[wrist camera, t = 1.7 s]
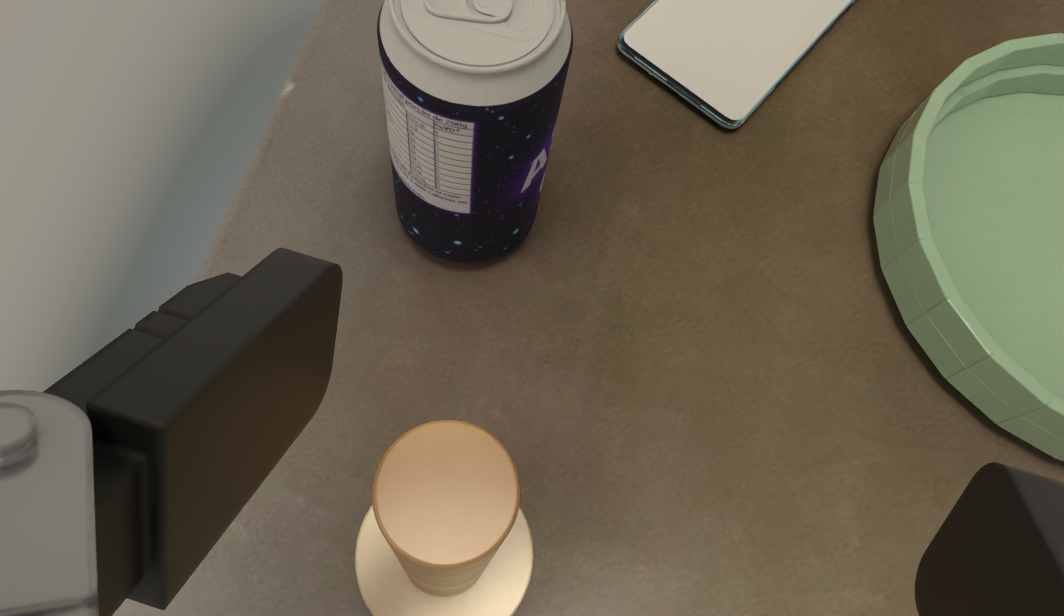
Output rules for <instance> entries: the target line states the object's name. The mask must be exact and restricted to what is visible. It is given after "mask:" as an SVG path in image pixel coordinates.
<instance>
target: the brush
mask: <svg viewBox="0 0 1064 616" xmlns="http://www.w3.org/2000/svg"><path fill="white" fill-rule="evenodd" d="M520 496H521V491H520V480H519V475H518V472H517V468H516V465H515V463H514V461H513V459H512V457H511V455H510V454H509V452H508V450H507V449H506V448H505V447H504V445H503V444H502V443H501V442H500V441H499V440H498V439H497V438H496V437H495V436H494V435H492V434H491V433H489V432H488V431H487V430H485V429H483V428H481V427H479V426H477V425H474V424H472V423H469V422H465V421H461V420H436V421H431V422H427V423H424V424H421V425H419V426H417V427H414V428H413V429H411V430H409V431H407V432H406V433H405V434H403V435H402V436H401V437H399V438H398V439H397V440H396V441H395V442H394V443H393V444H392V445H391V446H390V448H389V449H388V450H387V451H386V453H385V454H384V456H383V458H382V459H381V461H380V463H379V466H378V468H377V470H376V474H375V477H374V482H373V488H372V503H373V504H372V506H371V507H370V509H369V511H368V512H367V514H366V516H365V518H364V520H363V522H362V525H361V527H360V530H359V534H358V537H357V542H356V548H355V573H356V579H357V583H358V588H359V590H360V593H361V596H362V598H363V600H364V602H365V604H366V606H367V608H368V610H369V611H370V613H371V614H372V615H373V616H512V615H513V614H514V613H515V611H516V610H517V608H518V607H519V605H520V604H521V602H522V600H523V598H524V596H525V594H526V592H527V589H528V586H529V583H530V580H531V575H532V570H533V561H534V547H533V539H532V533H531V530H530V526H529V523H528V520H527V518H526V516H525V514H524V511H523V510H522V508H521V506H520Z"/></svg>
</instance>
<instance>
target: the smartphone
mask: <svg viewBox="0 0 1064 616" xmlns="http://www.w3.org/2000/svg"><path fill="white" fill-rule="evenodd" d="M854 2H855V0H655V1H654V2H653V3H652V4H651V5H650V6H649V7H648V8H647V9H646V10H645V11H644V12H643V13H642V14H640V15H639V16H638V17H637V18H636V19H635V20H634V21H633V22H632V23H631V24H630V25H629V26H628V27H627V28H626V29H624V30H623V31H622V32H621V33H620V35H619V38H618V42H617V46H618V48H619V50H620V51H621V52H622V53H623V54H624V55H625V56H627V57H628V58H629V59H631V60H632V61H633V62H635V63H636V64H637V65H639V66H640V67H642V68H643V69H644V70H646V71H647V72H648V73H649V74H650V75H652V76H654V77H655V78H657V79H658V80H659V81H661V82H662V83H663V84H665V85H667V86H668V87H670V88H671V89H672V90H674V91H675V92H676V93H678V94H679V95H680V96H681V97H682V98H684V99H685V100H687V101H688V102H689V103H691V104H692V105H693V106H695V107H696V108H697V109H699V110H700V111H702V112H703V113H704V114H706V115H707V116H708V117H710V118H711V119H713V120H714V121H715V122H717V123H718V124H719V125H721V126H723V127H725V128H728V129H734V128H737V127H739V126H741V125H742V124H743V123H744V122H745V120H746V119H747V118H748V117H749V116H750V115H751V114H752V113H753V112H754V111H755V109H756V108H757V107H758V106H759V105H760V104H761V103H762V102H763V101H764V100H765V98H766V97H767V96H768V95H769V94H770V93H771V92H772V91H773V90H774V89H775V87H776V86H777V85H778V84H779V83H780V82H781V81H782V80H783V79H784V78H785V76H786V75H787V74H788V73H789V72H790V71H791V70H792V69H793V68H794V67H795V65H796V64H797V63H798V62H799V61H800V60H801V59H802V58H803V57H804V56H805V54H806V53H807V52H808V51H809V50H810V49H811V48H812V47H813V46H814V45H815V43H816V42H817V41H818V40H819V39H820V38H821V37H822V36H823V35H824V34H825V32H826V31H827V30H828V29H829V28H830V27H831V26H832V25H833V24H834V23H835V21H836V20H837V19H838V18H839V17H840V16H841V15H842V14H843V13H844V12H845V10H846V9H847V8H848V7H849V6H850V5H851V4H853V3H854Z"/></svg>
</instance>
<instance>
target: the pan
mask: <svg viewBox="0 0 1064 616" xmlns="http://www.w3.org/2000/svg"><path fill="white" fill-rule="evenodd" d="M873 215H874V216H873V221H874V228H875V234H876V240H877V246H878V252H879V259H880V265H881V270H882V272H883V275H884V277H885V279H886V281H887V284H888V286H889V288H890V291H891V293H892V295H893V297H894V300H895V302H896V304H897V307H898V309H899V311H900V313H901V316H902V318H903V320H904V323H905V324H906V325H907V326H906V327H907V328H908V330H909V331H910V332H911V334H912V335H913V336H914V338H915V339H916V340H917V342H918V343H919V345H920V346H921V347H922V349H923V350H924V351H925V353H926V354H927V355H928V357H929V358H930V360H931V361H932V362H933V364H934V365H935V366H936V368H937V369H938V370H939V372H940V373H941V374H942V376H943V377H944V378H946V380H947V381H948V382H949V383H950V384H951V385H952V386H954V387H955V388H956V389H957V390H958V391H959V392H960V393H961V394H963V395H964V396H965V397H966V398H967V399H968V400H969V401H970V402H971V403H973V404H974V405H975V406H976V407H977V408H978V409H979V410H980V411H982V412H983V413H984V414H985V415H986V416H987V417H988V418H989V419H990V420H992V421H993V422H994V423H995V424H997V425H998V426H999V427H1001V428H1003V429H1004V430H1006V431H1008V432H1010V433H1011V434H1013V435H1015V436H1017V437H1018V438H1020V439H1022V440H1024V441H1025V442H1027V443H1029V444H1031V445H1032V446H1034V447H1036V448H1038V449H1039V450H1041V451H1043V452H1044V453H1046V454H1048V455H1050V456H1051V457H1053V458H1056V459H1058V460H1061V461H1064V33H1053V34H1046V35H1039V36H1033V37H1026V38H1019V39H1012V40H1009V41H1008V40H1007V41H1005V42H1003V43H1001V44H999V45H996V46H994V47H992V48H990V49H988V50H986V51H983V52H981V53H979V54H977V55H975V56H972V57H970V58H968V59H966V60H965V61H964V62H963V63H962V64H961V65H960V66H958V67H957V68H956V69H955V70H954V71H953V72H952V73H951V74H950V75H949V76H948V77H947V78H946V79H945V80H944V81H943V82H942V83H941V84H940V85H939V86H938V87H936V88H935V89H934V90H933V92H932V93H931V94H930V95H929V96H928V97H927V98H926V99H925V100H924V102H923V103H922V104H921V105H920V106H919V107H918V108H917V109H916V110H915V111H914V113H913V114H912V115H911V116H910V117H909V118H908V119H907V120H906V121H905V123H904V124H903V125H902V126H901V127H900V129H899V130H898V132H897V134H896V136H895V138H894V140H893V142H892V144H891V146H890V148H889V150H888V152H887V154H886V156H885V158H884V160H883V162H882V164H881V166H880V170H879V176H878V184H877V192H876V199H875V207H874V214H873Z"/></svg>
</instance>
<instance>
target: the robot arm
mask: <svg viewBox="0 0 1064 616" xmlns="http://www.w3.org/2000/svg"><path fill="white" fill-rule="evenodd" d="M341 290H342V270H341V267H340V266H339V265H338V264H335V263H332V262H329V261H325V260H322V259H319V258H315V257H312V256H308V255H305V254H302V253H298V252H295V251H292V250H288V249H285V248H279V249H276V250H275V251H274V252H272V253H271V254H270V255H269V256H267V257H266V258H265V259H264V260H262V261H261V262H260V263H259V264H257V265H256V266H255V267H254V268H252V269H251V270H250V271H249V272H247V273H246V274H245V275H244V276H242V277H241V276H238V275H234V274H231V273H225V274H222V275H219V276H216V277H213V278H210V279H207V280H203V281H200V282H197V283H194V284H191V285H188V286H187V287H185V288H184V289H183V290H181V291H180V292H178V293H177V294H176V295H175V296H173V297H172V298H171V299H169V300H168V301H166V302H165V303H164V304H162V305H161V306H160V307H159V310H158V312H156V311H153V312H151V313H150V314H149V315H147V316H146V317H145V318H143V319H142V320H140V321H139V322H138V323H136V325H135V328H134V330H132V329H128V330H127V331H125V333H123V334H121V335H120V336H119V337H117V338H116V339H115V340H113V341H112V342H110V343H109V344H108V345H106V346H105V347H104V348H102V349H101V350H100V351H98V352H97V353H96V354H94V355H93V356H92V357H90V358H89V359H87V360H86V361H85V362H83V363H82V364H81V365H79V366H78V367H77V368H75V369H74V370H72V371H71V372H70V373H68V374H67V375H66V376H64V377H63V378H62V379H60V380H59V381H57V382H56V383H55V384H53V385H52V386H51V387H49V388H48V389H47V390H45V391H44V392H36V391H24V390H7V391H0V616H112V615H113V613H114V612H115V611H116V610H117V609H118V607H119V606H120V605H121V604H122V603H123V602H124V600H125V599H126V598H128V599H131V600H134V601H137V602H140V603H143V604H146V605H149V606H152V607H155V608H158V609H161V610H165V609H166V607H167V606H168V605H169V603H170V602H171V601H172V599H173V598H174V597H175V596H176V594H177V593H178V592H179V590H180V589H181V588H182V586H183V585H184V584H185V583H186V581H187V580H188V579H189V577H190V576H191V575H192V573H193V572H194V571H195V570H196V568H197V567H198V566H199V564H200V563H201V562H202V560H203V559H204V558H205V556H206V555H207V554H208V553H209V551H210V550H211V549H212V547H213V546H214V545H215V543H216V542H217V541H218V540H219V538H220V537H221V536H222V534H223V533H224V532H225V530H226V529H227V528H228V527H229V525H230V524H231V523H232V521H233V520H234V519H235V517H236V516H237V515H238V514H239V512H240V511H241V510H242V508H243V507H244V506H245V504H246V503H247V502H248V501H249V499H250V498H251V497H252V495H253V494H254V493H255V491H256V490H257V489H258V488H259V486H260V485H261V484H262V482H263V481H264V480H265V478H266V477H267V476H268V474H269V473H270V472H271V471H272V469H273V468H274V467H275V465H276V464H277V463H278V461H279V460H280V459H281V458H282V456H283V455H284V454H285V452H286V451H287V450H288V448H289V447H290V446H291V445H292V443H293V442H294V441H295V439H296V438H297V437H298V435H299V434H300V433H301V432H302V430H303V429H304V428H305V426H306V425H307V424H308V422H309V421H310V420H311V419H312V417H313V416H314V414H315V413H316V411H317V409H318V408H319V406H320V404H321V402H322V399H323V397H324V395H325V392H326V389H327V386H328V383H329V379H330V375H331V370H332V364H333V355H334V347H335V339H336V331H337V323H338V315H339V307H340V299H341ZM915 601H916V606H917V610H918V613H919V616H1064V483H1062V482H1060V481H1057V480H1054V479H1050V478H1047V477H1044V476H1040V475H1037V474H1034V473H1030V472H1027V471H1024V470H1020V469H1017V468H1014V467H1010V466H1007V465H1004V464H1000V463H995V462H993V463H989V464H986V465H984V466H983V467H982V468H980V470H979V471H978V472H977V473H976V474H975V475H974V477H973V478H972V480H971V481H970V483H969V484H968V486H967V487H966V489H965V490H964V492H963V494H962V495H961V497H960V498H959V500H958V501H957V503H956V504H955V506H954V508H953V509H952V511H951V512H950V514H949V515H948V517H947V518H946V520H945V521H944V523H943V525H942V526H941V528H940V529H939V531H938V532H937V534H936V535H935V537H934V539H933V540H932V542H931V543H930V545H929V546H928V548H927V549H926V551H925V553H924V555H923V556H922V559H921V561H920V564H919V567H918V571H917V575H916V581H915Z"/></svg>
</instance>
